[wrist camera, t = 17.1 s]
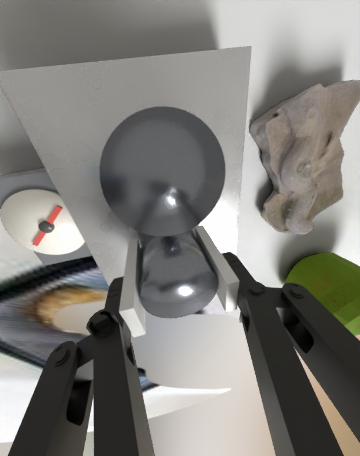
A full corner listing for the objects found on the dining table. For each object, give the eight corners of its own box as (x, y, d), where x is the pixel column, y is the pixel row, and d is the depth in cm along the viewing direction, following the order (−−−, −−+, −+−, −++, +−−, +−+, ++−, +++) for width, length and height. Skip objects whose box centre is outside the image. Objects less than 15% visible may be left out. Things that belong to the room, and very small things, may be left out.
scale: (75, 278, 20) (63, 303, 17) (-47, 99, 11) (-121, 86, 8) (220, 245, 22) (232, 263, 19) (222, 69, 13) (247, 49, 10)
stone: (242, 111, 15) (272, 105, 12) (338, 70, 15) (398, 50, 11) (256, 232, 23) (276, 249, 19) (319, 205, 23) (351, 218, 19)
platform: (115, 289, 18) (113, 295, 17) (4, 76, 9) (-8, 71, 8) (231, 261, 20) (234, 265, 19) (244, 51, 10) (251, 46, 9)
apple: (264, 281, 29) (320, 351, 19) (312, 235, 25) (411, 295, 16) (296, 295, 33) (355, 357, 24) (342, 258, 30) (431, 313, 20)
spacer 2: (148, 266, 16) (150, 325, 11) (134, 223, 14) (130, 276, 9) (195, 254, 17) (217, 307, 12) (191, 212, 14) (218, 256, 9)
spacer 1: (139, 206, 13) (142, 252, 8) (100, 140, 10) (65, 146, 5) (195, 179, 13) (235, 208, 8) (171, 106, 10) (207, 78, 5)
